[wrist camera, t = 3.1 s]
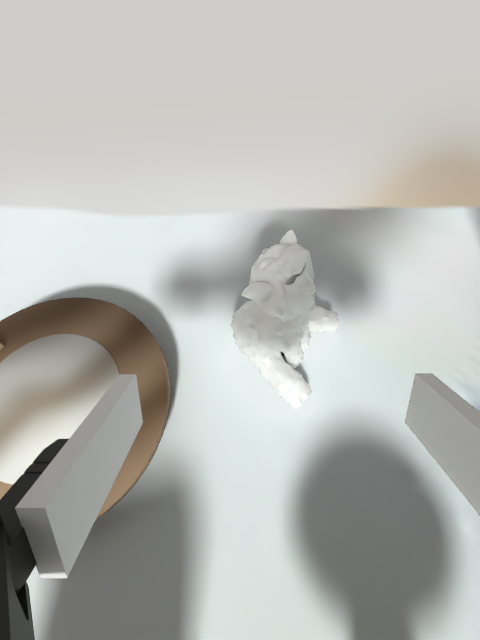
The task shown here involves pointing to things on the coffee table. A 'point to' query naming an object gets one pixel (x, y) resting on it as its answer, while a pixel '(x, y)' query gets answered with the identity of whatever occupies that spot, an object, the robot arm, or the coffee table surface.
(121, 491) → the turntable platter
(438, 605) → the coffee table surface
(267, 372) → the sitting furry creature
